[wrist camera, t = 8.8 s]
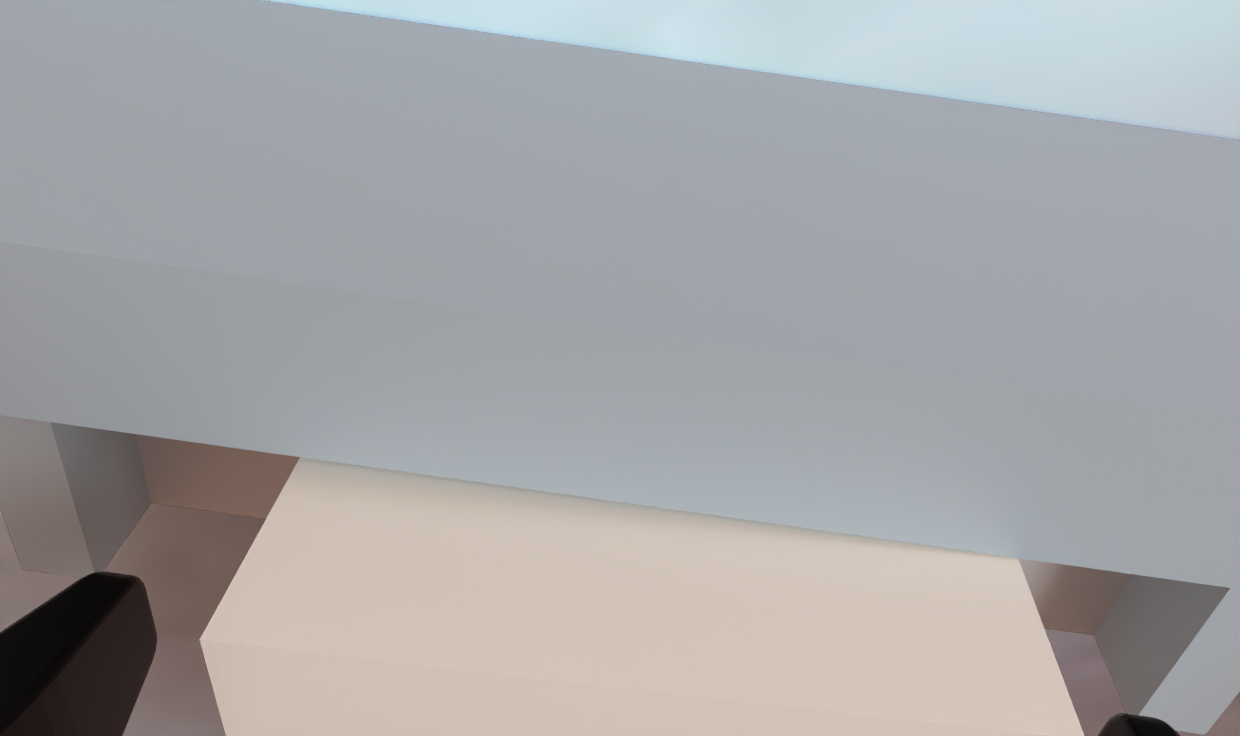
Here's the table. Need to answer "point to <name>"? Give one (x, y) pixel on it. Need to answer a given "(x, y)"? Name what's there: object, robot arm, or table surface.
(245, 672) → the beige cube
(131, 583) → the robot arm
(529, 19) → the table surface
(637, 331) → the toy sofa
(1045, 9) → the table surface
